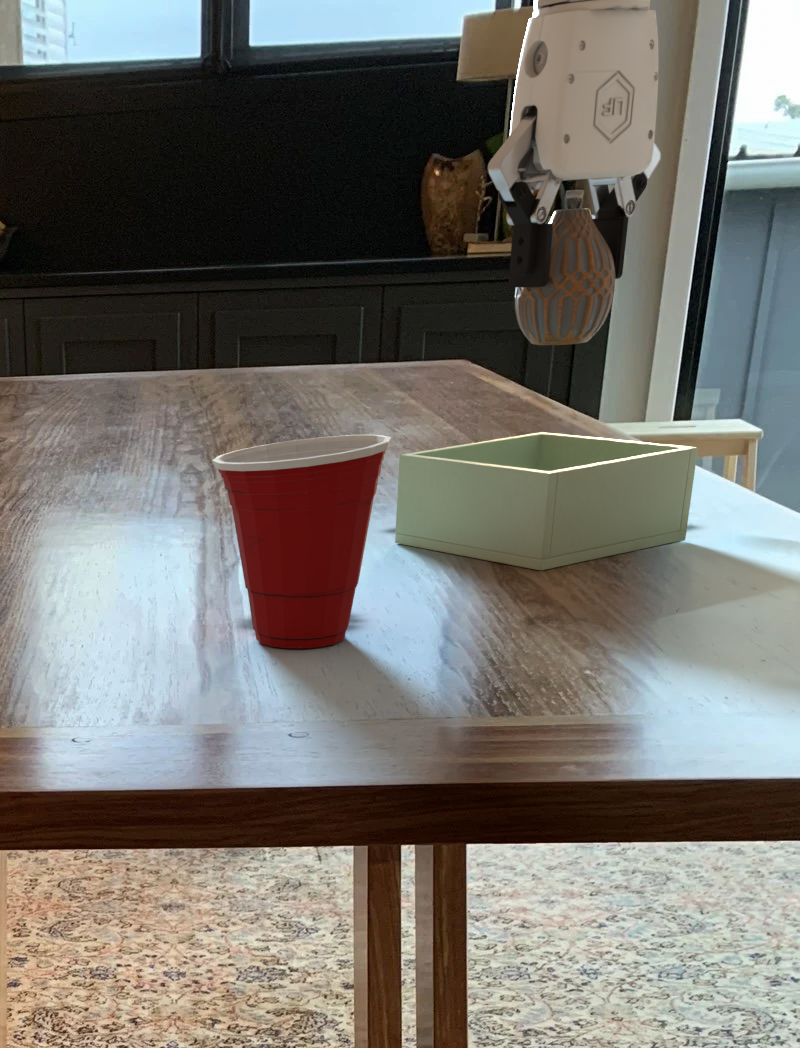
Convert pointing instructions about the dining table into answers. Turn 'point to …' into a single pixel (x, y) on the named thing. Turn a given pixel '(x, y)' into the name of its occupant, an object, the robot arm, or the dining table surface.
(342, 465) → the plastic cup
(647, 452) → the tub
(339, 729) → the dining table surface
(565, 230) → the vase
